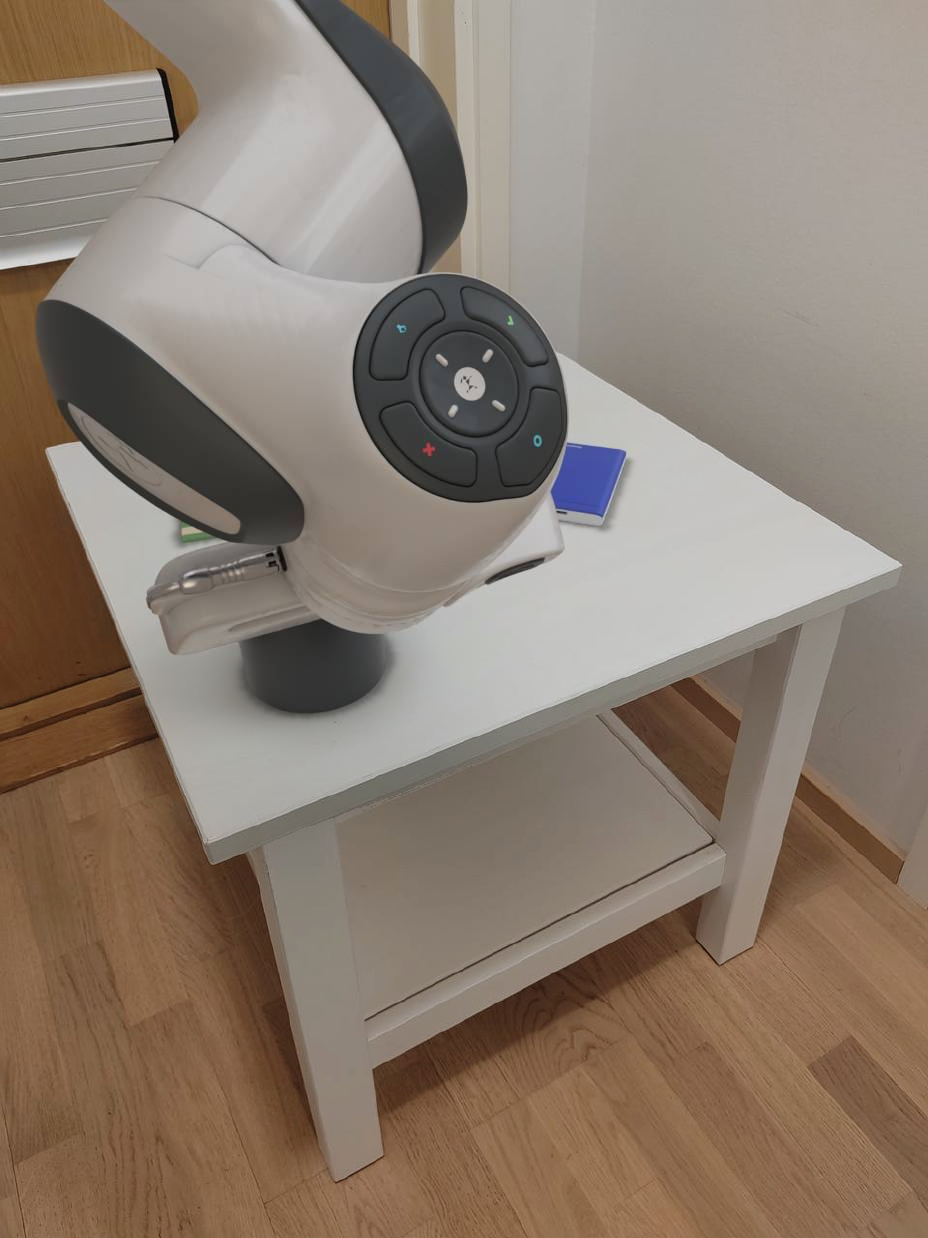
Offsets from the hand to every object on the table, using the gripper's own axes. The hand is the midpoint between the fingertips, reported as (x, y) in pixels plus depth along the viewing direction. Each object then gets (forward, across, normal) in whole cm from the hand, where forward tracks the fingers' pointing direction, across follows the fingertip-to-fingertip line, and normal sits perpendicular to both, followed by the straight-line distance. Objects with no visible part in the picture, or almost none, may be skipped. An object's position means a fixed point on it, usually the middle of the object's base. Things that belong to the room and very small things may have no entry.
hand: (338, 596), depth 56 cm
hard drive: (+30, +32, +10) cm, 45 cm away
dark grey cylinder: (+22, +1, +1) cm, 22 cm away
